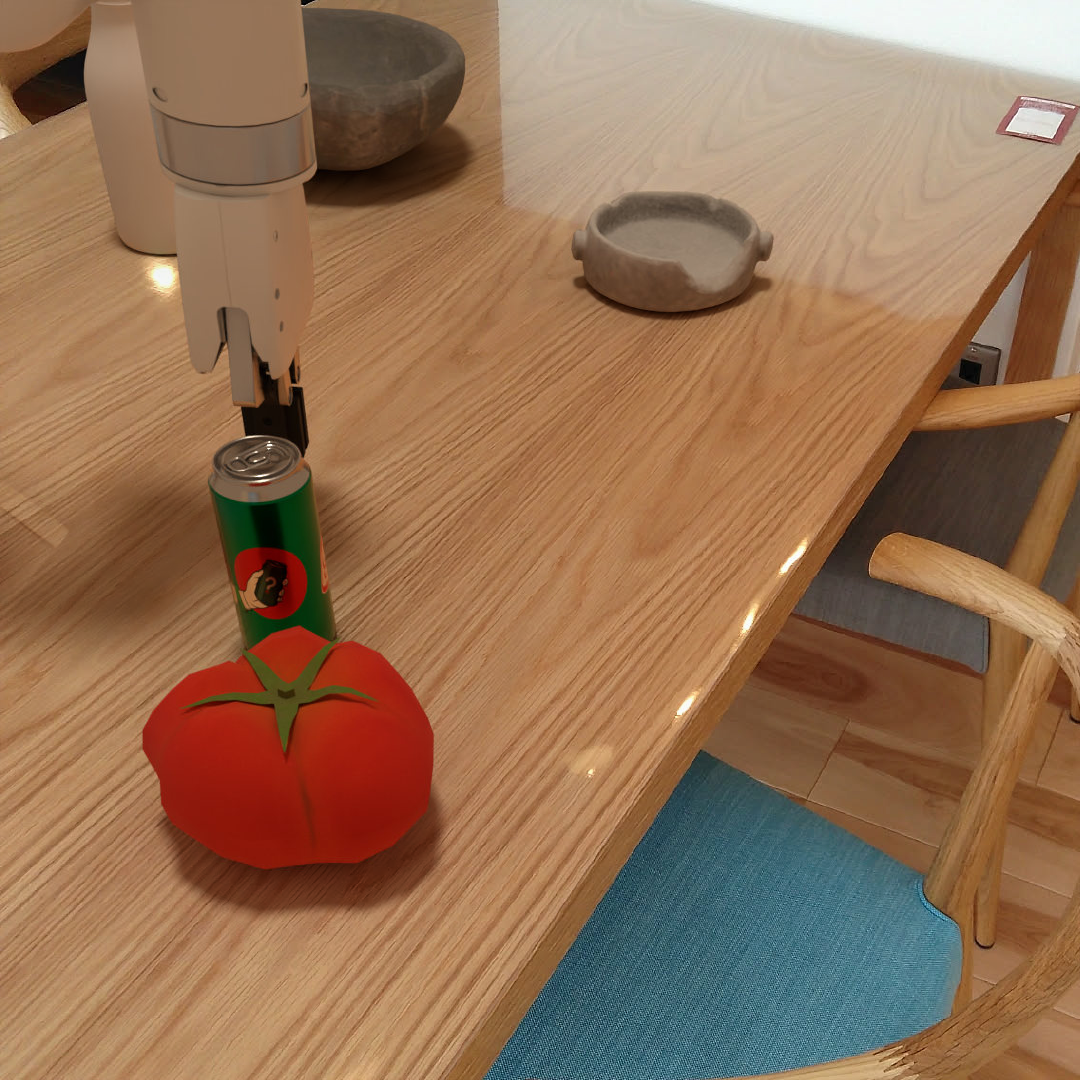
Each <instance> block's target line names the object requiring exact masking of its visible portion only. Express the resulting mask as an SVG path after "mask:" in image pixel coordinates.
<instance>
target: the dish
mask: <svg viewBox="0 0 1080 1080" xmlns="http://www.w3.org/2000/svg"><path fill="white" fill-rule="evenodd" d="M774 238H775V237H774V234H773V232H772V231H770V230H766V231H761V229H760V227H759V225H758V223H757V221H756V219H755V217H753V216H752V214H751V213H750V212H749V211H747V210H746V209H745V208H743V207H741V206H739V205H738V204H737V203H735V202H734V201H731V200H729V199H726V198H721V197H720V198H717V197H714V196H712V195H710V194H707V193H702V192H694V191H671V190H669V191H668V190H664V191H663V190H662V191H661V190H650V191H648V190H647V191H629V192H624V193H623V194H622V195H620V196H619V197H617V198H615V199H612V201H611V202H610V203H607V202H603V203H601V204H600V205H598V206H597V208H595V209H594V210H593V211H592V213H591V214H590V216H589V219H588V220H587V223H586V225H585V229H584V230H581V229H576V230H575V231H574V232H573V234H572V240H571V254H572V258H573V259H574V260H575V261H581V262H582V270H583V274H584V277H585V280H586V281H587V283H588V284H589V285H590V286H591V287H592V289H594V290H595V291H596V292H597V293H599V294H601V295H603V296H604V297H606V298H608V299H610V300H612V301H615V302H617V303H619V304H622V305H624V306H628V307H631V308H636V309H640V310H646V311H652V312H653V311H654V312H662V313H677V312H678V313H679V312H691V311H698V310H703V309H707V308H710V307H714V306H718V305H721V304H724V303H726V302H729V301H731V300H733V299H735V298H736V297H738V296H740V295H741V294H742V293H744V292H745V291H746V290H747V288H748V287H749V286H750V284H751V281H752V279H753V275H754V273H755V269H756V266H757V264H758V263H759V262H767V261H768V260H769V259H770V258H771V254H772V252H773V246H774Z"/></svg>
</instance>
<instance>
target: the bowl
mask: <svg viewBox="0 0 1080 1080" xmlns="http://www.w3.org/2000/svg"><path fill="white" fill-rule="evenodd" d="M301 8H302V18H303V28H304V39H305V50H306V60H307V71H308V81H309V92H310V100H311V108H312V119H313V129H314V139H315V149H316V160H317V170H325V171H326V170H327V171H348V172H349V171H350V172H351V171H362V170H367V169H372V168H376V167H378V166H382V165H384V164H386V163H390V162H391V161H392V160H395V159H396V158H399V157H400V156H402V155H404V154H406V153H408V152H409V151H411V150H412V149H413V148H415V147H417V146H418V145H420V144H421V143H423V142H424V141H426V140H427V139H428V138H430V137H431V136H432V135H433V134H434V133H435V132H436V131H437V130H438V129H439V128H440V127H441V126H442V125H443V124H444V123H445V122H446V121H447V119H448V117H449V116H450V115H451V113H452V111H454V109H455V107H456V105H457V102H458V101H459V98H460V96H461V93H462V91H463V86H464V81H465V74H466V55H465V53H464V49H462V47H461V45H460V43H459V41H457V39H456V38H454V37H453V36H452V35H451V34H450V33H448V32H447V31H445V30H443V29H440V28H439V27H437V26H434V25H433V24H431V23H428V22H425V21H421V20H417V19H415V18H411V17H408V16H404V15H401V14H395V13H390V12H385V11H378V10H372V9H371V10H370V9H355V8H330V7H301Z"/></svg>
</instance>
